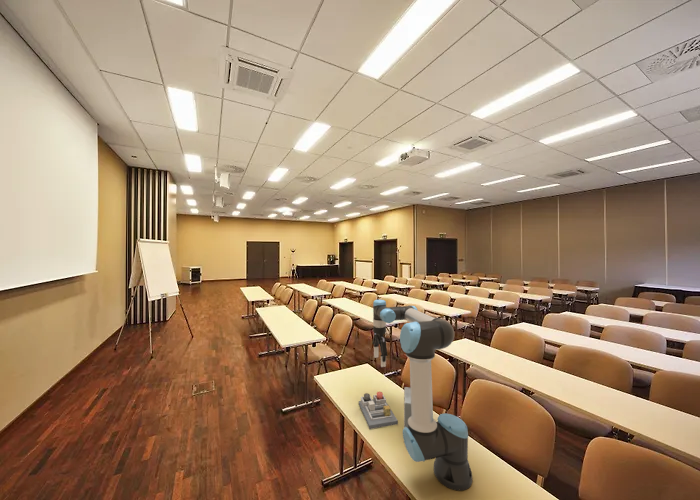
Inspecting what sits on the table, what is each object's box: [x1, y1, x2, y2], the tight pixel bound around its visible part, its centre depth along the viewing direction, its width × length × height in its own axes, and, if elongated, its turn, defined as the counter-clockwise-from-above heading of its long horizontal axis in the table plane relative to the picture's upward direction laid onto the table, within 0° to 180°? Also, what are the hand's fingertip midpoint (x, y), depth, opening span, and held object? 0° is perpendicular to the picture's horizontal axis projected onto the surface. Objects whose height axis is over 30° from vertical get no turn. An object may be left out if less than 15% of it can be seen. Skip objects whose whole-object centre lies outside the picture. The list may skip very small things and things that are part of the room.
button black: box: [363, 393, 371, 402], centre depth 156 cm, size 4×4×3 cm
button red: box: [376, 391, 384, 400], centre depth 158 cm, size 4×4×3 cm
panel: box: [358, 394, 399, 430], centre depth 151 cm, size 22×16×5 cm
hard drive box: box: [403, 386, 411, 429], centre depth 135 cm, size 16×8×20 cm, turn 168°
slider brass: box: [383, 406, 391, 417], centre depth 147 cm, size 3×3×4 cm
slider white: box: [368, 401, 375, 412], centre depth 151 cm, size 3×3×4 cm
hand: (379, 361), depth 158 cm, fingers open, 12 cm apart
